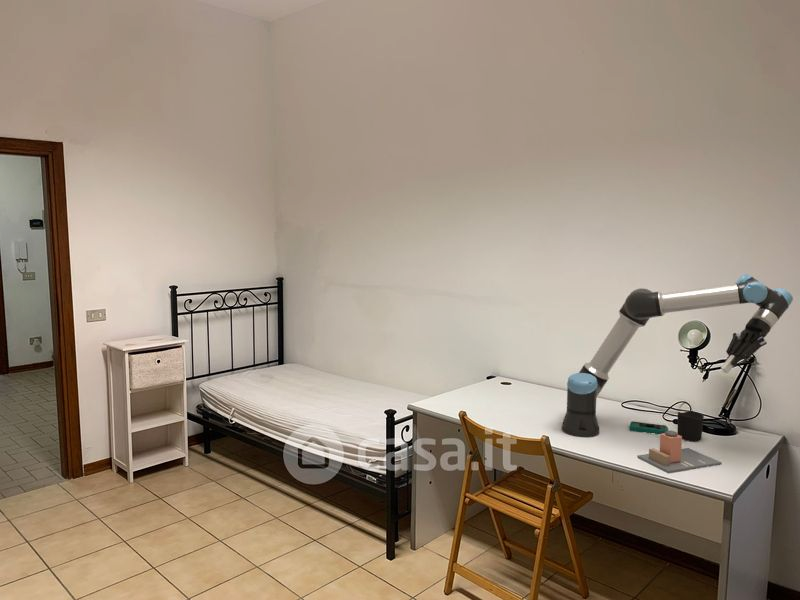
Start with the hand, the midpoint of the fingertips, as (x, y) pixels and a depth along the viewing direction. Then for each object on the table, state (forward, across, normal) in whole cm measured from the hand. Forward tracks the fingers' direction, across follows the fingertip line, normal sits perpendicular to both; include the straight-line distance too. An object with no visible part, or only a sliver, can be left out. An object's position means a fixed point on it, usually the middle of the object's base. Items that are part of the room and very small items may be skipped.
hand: (724, 370), depth 213 cm
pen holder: (+20, +18, -26) cm, 37 cm away
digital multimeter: (+27, +30, -20) cm, 45 cm away
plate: (+36, 0, -9) cm, 37 cm away
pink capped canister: (+38, 0, -6) cm, 39 cm away
